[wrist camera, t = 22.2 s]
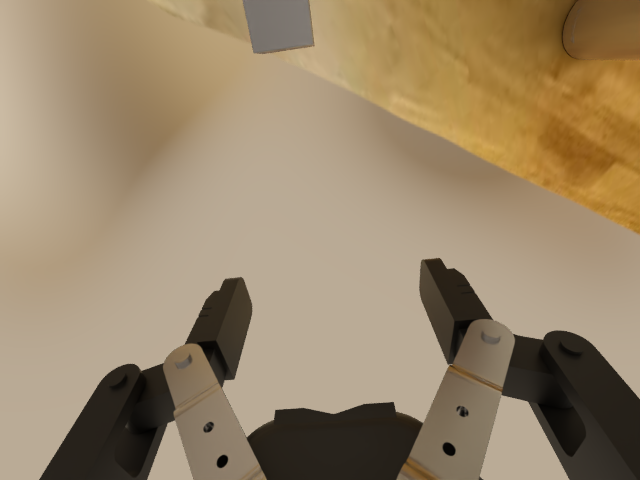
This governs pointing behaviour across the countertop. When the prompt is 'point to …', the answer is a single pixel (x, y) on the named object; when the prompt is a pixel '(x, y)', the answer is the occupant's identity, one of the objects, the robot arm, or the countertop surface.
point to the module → (279, 25)
